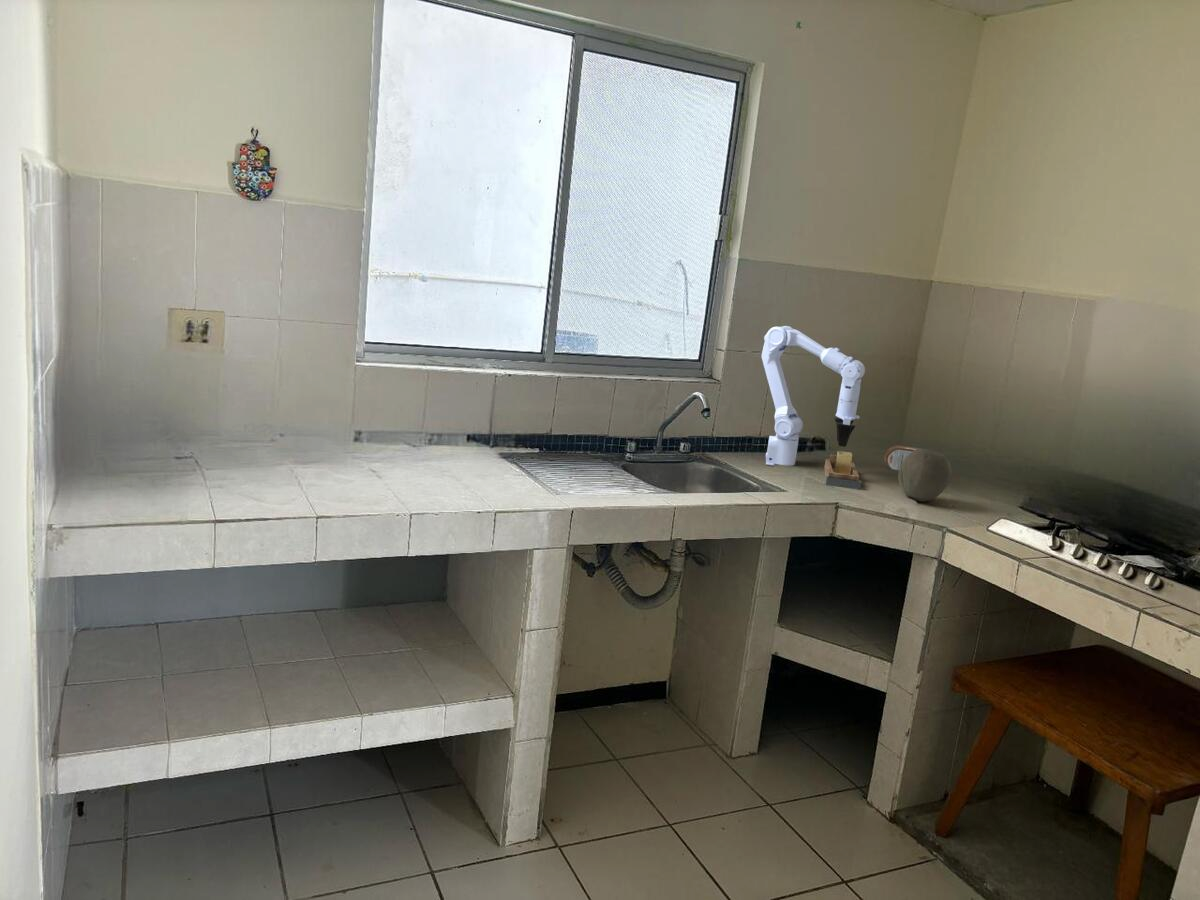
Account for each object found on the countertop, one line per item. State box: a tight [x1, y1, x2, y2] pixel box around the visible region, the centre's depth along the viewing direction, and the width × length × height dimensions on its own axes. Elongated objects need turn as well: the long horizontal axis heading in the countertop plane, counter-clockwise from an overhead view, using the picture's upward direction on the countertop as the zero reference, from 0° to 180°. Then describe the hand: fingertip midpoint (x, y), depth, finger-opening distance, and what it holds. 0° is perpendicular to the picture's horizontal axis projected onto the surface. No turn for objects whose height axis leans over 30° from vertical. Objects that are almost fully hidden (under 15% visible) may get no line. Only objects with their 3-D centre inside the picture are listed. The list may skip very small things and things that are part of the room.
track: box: [824, 475, 863, 490], centre depth 287 cm, size 11×29×3 cm, turn 170°
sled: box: [823, 454, 860, 481], centre depth 285 cm, size 9×20×5 cm, turn 170°
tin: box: [883, 445, 922, 472], centre depth 305 cm, size 15×3×8 cm, turn 84°
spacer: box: [834, 450, 853, 475], centre depth 284 cm, size 4×4×7 cm
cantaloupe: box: [897, 448, 953, 503], centre depth 269 cm, size 14×14×15 cm
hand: (841, 443), depth 288 cm, fingers open, 7 cm apart
